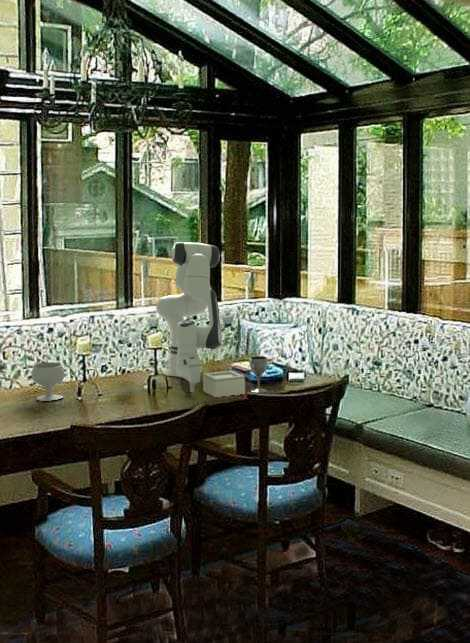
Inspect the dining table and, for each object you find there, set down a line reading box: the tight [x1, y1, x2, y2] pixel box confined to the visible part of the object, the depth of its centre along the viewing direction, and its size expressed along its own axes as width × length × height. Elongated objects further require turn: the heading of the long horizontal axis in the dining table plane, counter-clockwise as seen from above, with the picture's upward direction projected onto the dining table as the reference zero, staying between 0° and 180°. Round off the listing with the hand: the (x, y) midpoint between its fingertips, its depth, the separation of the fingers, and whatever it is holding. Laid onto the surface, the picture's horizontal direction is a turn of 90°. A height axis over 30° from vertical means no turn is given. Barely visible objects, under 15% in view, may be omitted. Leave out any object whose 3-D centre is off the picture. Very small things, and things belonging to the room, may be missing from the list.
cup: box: [178, 377, 197, 397], centre depth 387 cm, size 8×7×8 cm
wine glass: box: [249, 355, 268, 394], centre depth 393 cm, size 8×8×15 cm
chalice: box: [31, 362, 66, 402], centre depth 384 cm, size 14×14×15 cm
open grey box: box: [202, 370, 246, 398], centre depth 391 cm, size 14×14×8 cm
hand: (188, 389), depth 387 cm, fingers closed on cup, 7 cm apart
